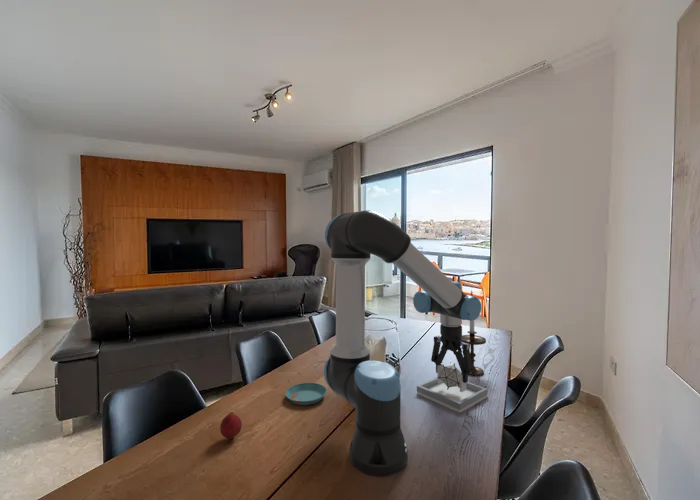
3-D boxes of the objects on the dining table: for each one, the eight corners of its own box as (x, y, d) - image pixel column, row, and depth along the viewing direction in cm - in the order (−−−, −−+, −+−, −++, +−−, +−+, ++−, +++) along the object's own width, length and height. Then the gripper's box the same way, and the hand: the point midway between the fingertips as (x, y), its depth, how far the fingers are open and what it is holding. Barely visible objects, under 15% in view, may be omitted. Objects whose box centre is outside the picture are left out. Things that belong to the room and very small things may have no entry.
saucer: (277, 399, 121) (277, 392, 121) (308, 385, 132) (308, 379, 132) (303, 413, 111) (303, 405, 111) (335, 397, 122) (335, 390, 122)
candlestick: (481, 379, 135) (481, 292, 134) (455, 373, 142) (454, 290, 141) (489, 370, 144) (488, 289, 143) (463, 365, 150) (463, 287, 149)
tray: (460, 412, 109) (459, 403, 109) (416, 393, 123) (416, 385, 123) (487, 397, 120) (487, 388, 120) (444, 381, 134) (444, 373, 134)
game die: (456, 399, 120) (467, 383, 114) (433, 389, 122) (442, 373, 116) (458, 378, 127) (469, 363, 121) (436, 369, 129) (446, 353, 123)
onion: (229, 447, 93) (228, 418, 93) (216, 441, 96) (215, 413, 96) (246, 436, 98) (245, 409, 98) (233, 431, 101) (232, 404, 101)
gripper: (484, 328, 115) (484, 393, 115) (433, 317, 132) (433, 374, 132) (472, 332, 110) (472, 400, 111) (420, 320, 127) (421, 379, 127)
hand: (451, 386), depth 121 cm, fingers closed on game die, 9 cm apart
